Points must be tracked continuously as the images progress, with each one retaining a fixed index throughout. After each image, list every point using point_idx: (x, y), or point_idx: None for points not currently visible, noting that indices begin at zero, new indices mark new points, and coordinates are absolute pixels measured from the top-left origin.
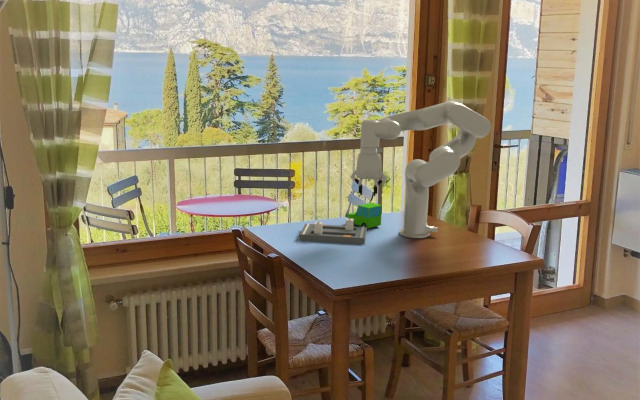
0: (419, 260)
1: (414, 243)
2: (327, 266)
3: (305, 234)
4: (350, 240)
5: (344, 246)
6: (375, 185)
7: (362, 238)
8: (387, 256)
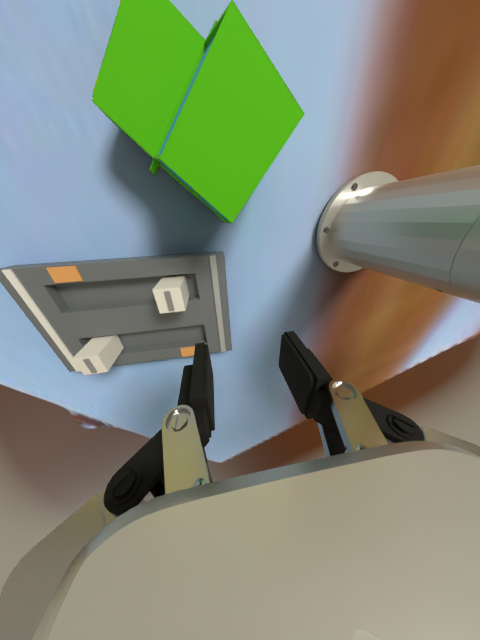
0: None
1: (333, 305)
2: None
3: None
4: None
5: None
6: (319, 424)
7: (227, 350)
8: (273, 381)
